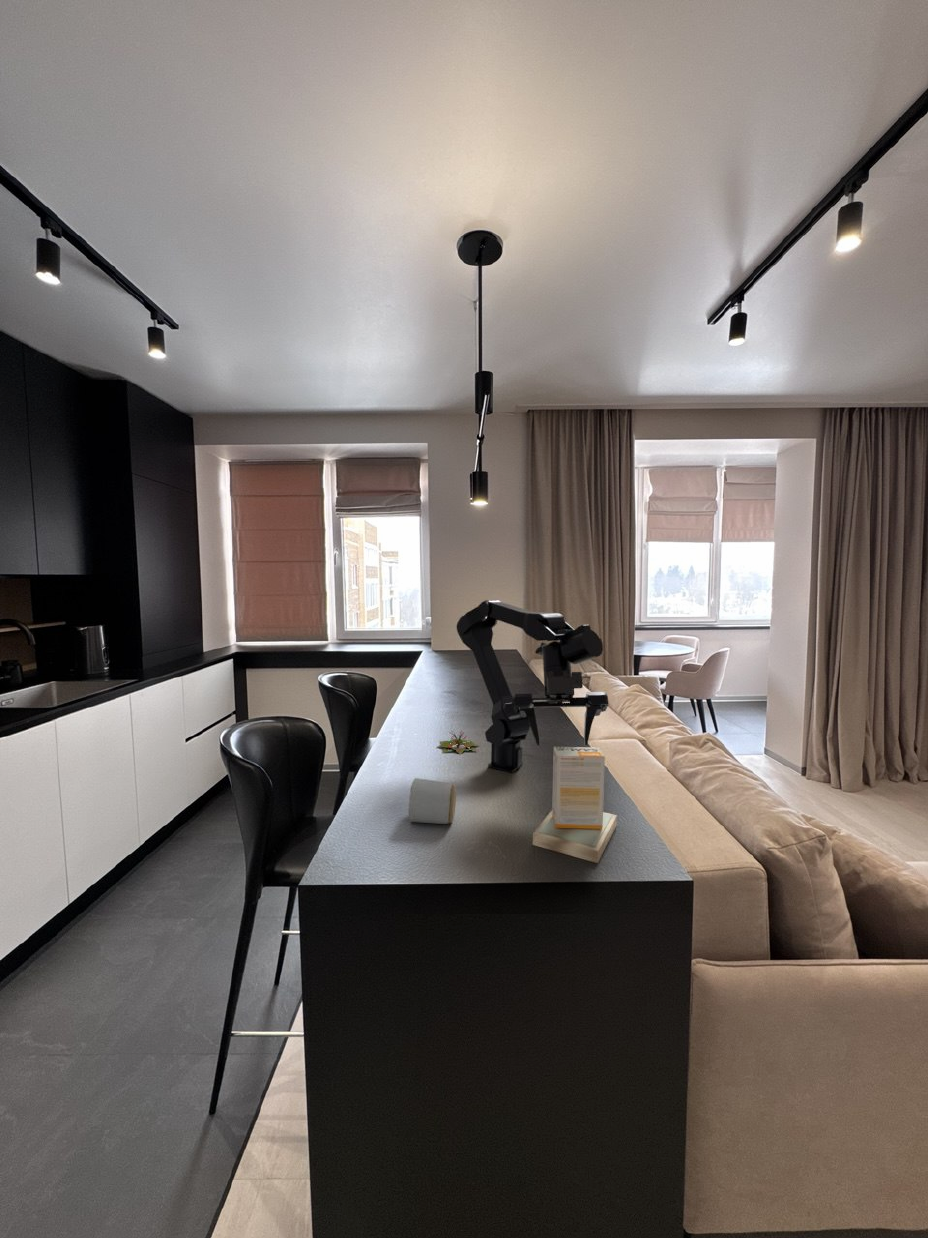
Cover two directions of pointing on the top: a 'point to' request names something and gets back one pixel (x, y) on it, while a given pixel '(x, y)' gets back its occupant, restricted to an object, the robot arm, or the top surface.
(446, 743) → the lily flower
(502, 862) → the top surface
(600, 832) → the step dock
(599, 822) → the supplement box
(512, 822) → the top surface
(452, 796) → the ceramic mug
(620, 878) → the top surface
